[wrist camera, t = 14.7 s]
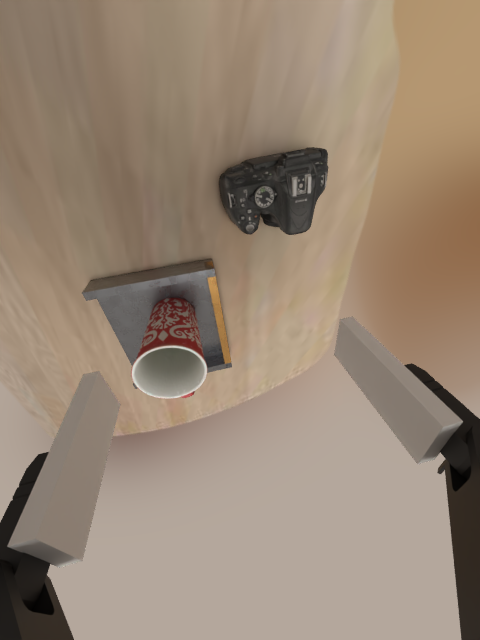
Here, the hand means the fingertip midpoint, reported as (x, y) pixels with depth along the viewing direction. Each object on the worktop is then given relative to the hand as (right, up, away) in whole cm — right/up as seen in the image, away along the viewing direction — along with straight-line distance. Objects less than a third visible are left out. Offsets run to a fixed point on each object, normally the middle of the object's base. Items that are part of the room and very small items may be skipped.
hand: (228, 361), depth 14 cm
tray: (-12, +2, +29) cm, 31 cm away
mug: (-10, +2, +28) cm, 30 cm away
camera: (+4, +21, +20) cm, 29 cm away
